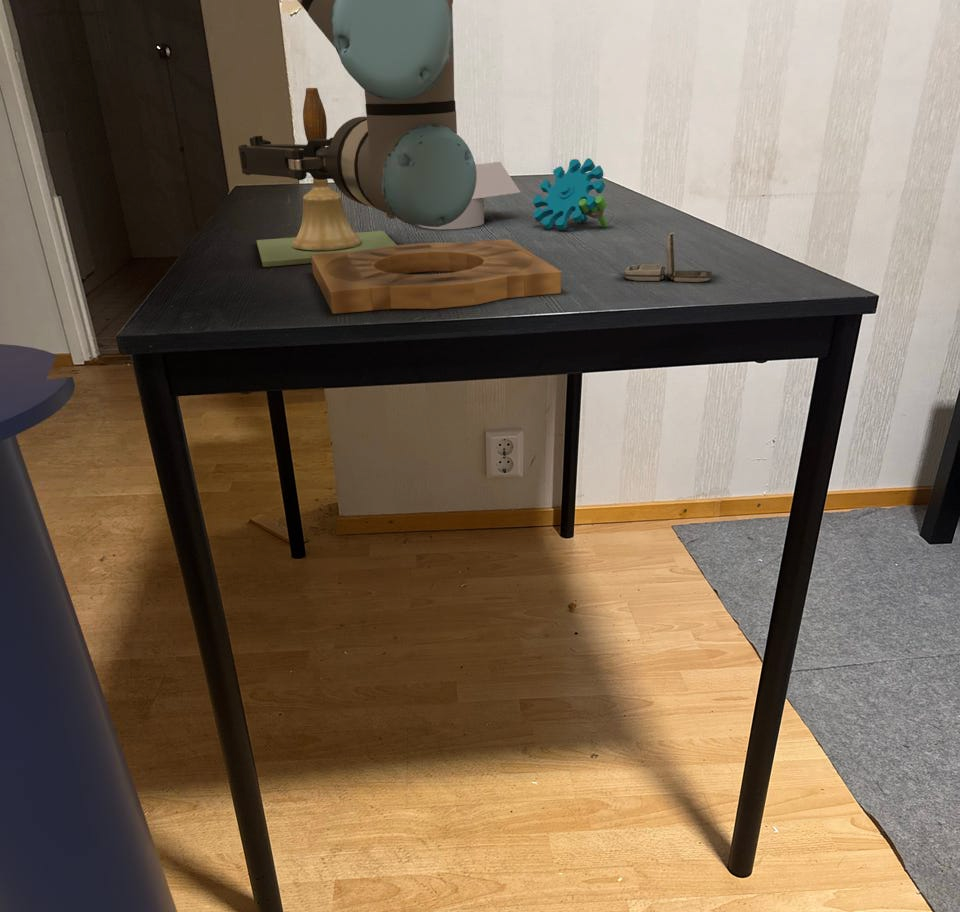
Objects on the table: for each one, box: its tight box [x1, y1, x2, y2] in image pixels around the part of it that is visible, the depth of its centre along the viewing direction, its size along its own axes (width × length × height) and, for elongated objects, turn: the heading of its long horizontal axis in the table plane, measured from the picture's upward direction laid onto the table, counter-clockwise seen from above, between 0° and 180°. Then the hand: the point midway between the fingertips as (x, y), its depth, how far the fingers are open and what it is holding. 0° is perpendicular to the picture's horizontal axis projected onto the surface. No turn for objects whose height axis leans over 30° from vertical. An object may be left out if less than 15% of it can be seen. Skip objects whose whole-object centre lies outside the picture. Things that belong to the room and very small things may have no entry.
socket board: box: [311, 238, 562, 315], centre depth 89 cm, size 22×21×2 cm
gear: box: [532, 157, 609, 230], centre depth 114 cm, size 11×6×10 cm
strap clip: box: [624, 231, 713, 283], centre depth 87 cm, size 8×3×4 cm, turn 76°
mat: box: [256, 230, 398, 268], centre depth 106 cm, size 16×14×1 cm
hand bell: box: [292, 87, 362, 251], centre depth 101 cm, size 8×8×16 cm
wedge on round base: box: [417, 161, 522, 230], centre depth 118 cm, size 9×7×13 cm
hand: (314, 147), depth 99 cm, fingers open, 13 cm apart
